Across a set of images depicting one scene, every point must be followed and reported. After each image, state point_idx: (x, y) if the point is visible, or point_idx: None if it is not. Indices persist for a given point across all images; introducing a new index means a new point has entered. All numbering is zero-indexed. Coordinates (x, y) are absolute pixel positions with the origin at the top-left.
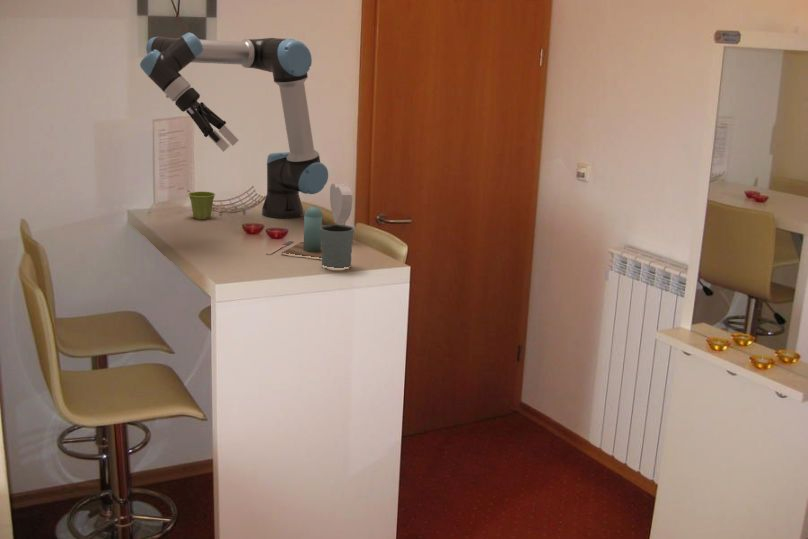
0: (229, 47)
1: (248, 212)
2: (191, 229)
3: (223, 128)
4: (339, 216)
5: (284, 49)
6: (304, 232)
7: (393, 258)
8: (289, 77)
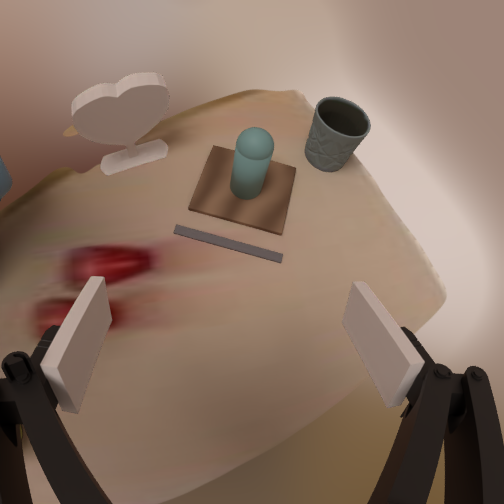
0: None
1: None
2: (105, 446)
3: (69, 374)
4: (155, 124)
5: None
6: (259, 179)
7: (255, 93)
8: None
